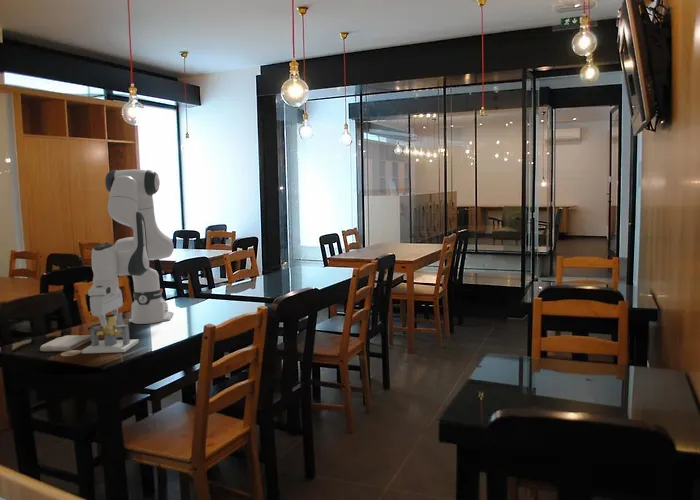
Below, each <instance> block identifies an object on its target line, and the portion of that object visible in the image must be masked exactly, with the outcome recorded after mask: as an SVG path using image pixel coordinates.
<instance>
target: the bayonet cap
mask: <svg viewBox="0 0 700 500" xmlns="http://www.w3.org/2000/svg"><path fill="white" fill-rule="evenodd" d="M105 316H106V317H105V319H106V321H107V325H106V326H102V329H101V331H98V332H97V335H98V336H103V337H104V336H112V335H121V334H122V331H117V329H116V315H115V314H112V313H111V314H109V313H108V314H105Z"/></svg>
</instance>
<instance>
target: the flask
mask: <svg viewBox="0 0 700 500" xmlns="http://www.w3.org/2000/svg"><path fill="white" fill-rule="evenodd" d="M118 325H126V324H125V322H124V318H123V312H122V311H118V313H117V320H116V326H118ZM117 331H122V329H117ZM129 336H130V333H129ZM120 338H121V339H123V338H122V334H121V335H116V339H120Z"/></svg>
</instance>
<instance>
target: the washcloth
mask: <svg viewBox="0 0 700 500" xmlns="http://www.w3.org/2000/svg"><path fill="white" fill-rule="evenodd" d="M90 341H91V334H83V335H78V334H77V335H76V334H71V335H68V334H67V335H63V336H61V337H60V336H58V337H56V338H55V339H52V340H50V341H48V342H46V343H44V344H42V345H40V348H39V351H40V352H66V351H72V350H73V349H74V350H75V349H76V348H78V347H80V346H82V345H84V344H86V343H88V342H90Z"/></svg>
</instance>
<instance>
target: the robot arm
mask: <svg viewBox="0 0 700 500" xmlns="http://www.w3.org/2000/svg"><path fill="white" fill-rule="evenodd" d="M104 180H105V182H104V183H105V188H106V191H107V192H108V193H109V195H108V196H109V197H108V202H107V213H108V215H109V216H110V218H111V219H113V220H114V221H115V222H117V223H118V224H121V225H123V226H127V227H129V228H131V229H132V234H133V236H129V237H124V238H119V239H118V240H116V241H115V242H114V245H113V243H102V244H97V245H95V246H93V248H91V249H92V250H91V270H92V273H93V277H92V285H91V286H90V288H89V289H88V290H87V295H88V296H89V308H90V313H91V316H93V317H98V320H99V322H100V326H106V325H107V321H106V319H105V317H106V316H105V315H108V314H109V313H110V312H111V314H115V315H116V320H117V313H118V312H119V308H121V307H123V304H124V300H123V294H122V293H123V292H122V290H121V288H120V283H119V276H131V277H132V281H133V290H134V291H133V300H134V301H133V302H131V318H129V319H128V322H129V323H133V324H136V325H137V324H138V325H143V324H144V325H145V324H146V325H148V324H154V323H155V324H157V323H160V322H167V321H170V320H171V319H172V317H173V315H174V312H173V311H169V305H168V302H167V301H166V300H165V298H164V297H163V295H162V293H164V291H163V288H160V287H161V286H160V275H159V273H158V271H157V270H156V269H153V268H152V267H150V261H156V260H162V259H166V258H170V257H171V256H172V254H173V252H174V249H175V248H174V242H173V241H172V239H171V238H170V237H169V236H168V235H166V234H164V233H163V231H162V230H161V229H160V228H159V227H158V224H157V222H156V221H157V220H156V215H155V208H154V206H155V205H154V198H153V195H156V193H158V192H159V188H160V182H161V181H160V177H159V174H158V173H157V172H156V171H154V170H151V169H147V170H144V169H135V168H134V169H121V170H118V169H113V170H110V171H108V173H106V175H105V179H104Z"/></svg>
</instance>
